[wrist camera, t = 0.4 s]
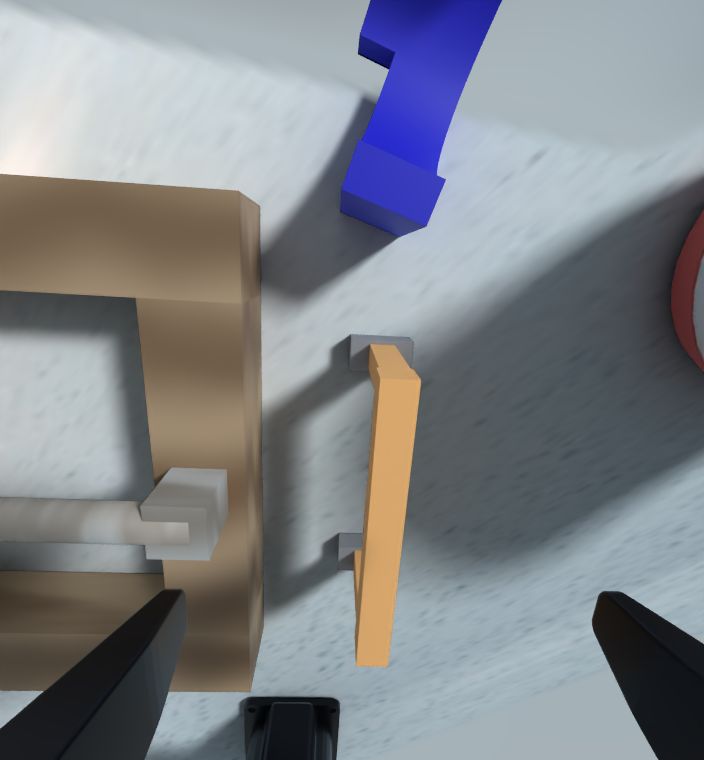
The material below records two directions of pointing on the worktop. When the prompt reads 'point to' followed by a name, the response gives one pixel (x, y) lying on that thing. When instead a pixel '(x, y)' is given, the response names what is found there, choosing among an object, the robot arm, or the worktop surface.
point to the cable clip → (411, 106)
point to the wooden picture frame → (150, 425)
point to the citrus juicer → (690, 294)
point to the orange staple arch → (382, 491)
